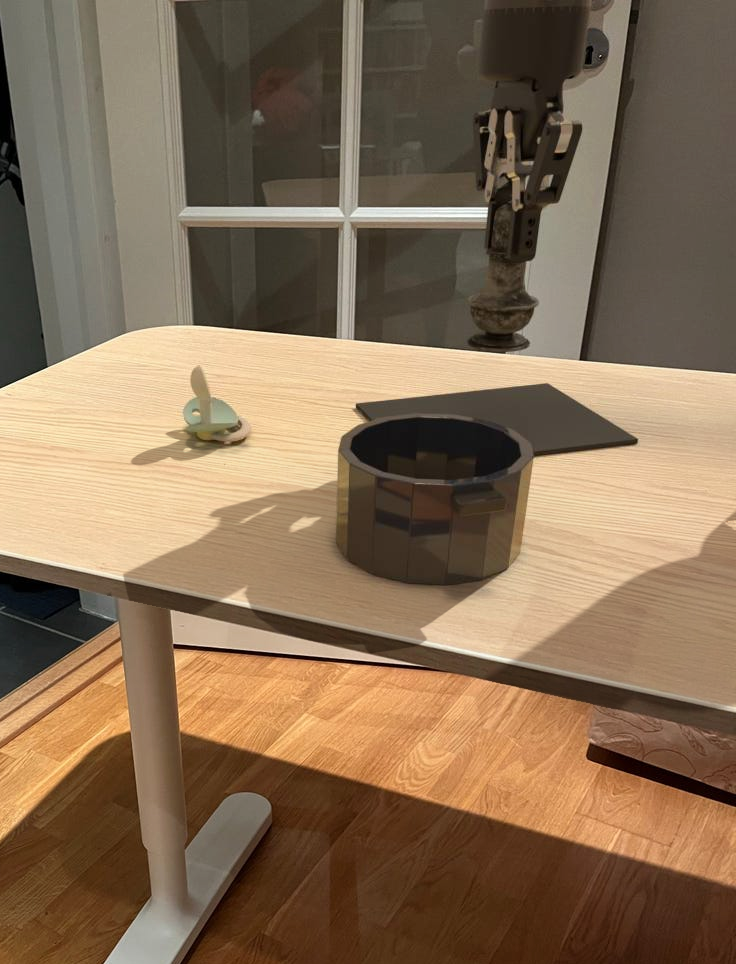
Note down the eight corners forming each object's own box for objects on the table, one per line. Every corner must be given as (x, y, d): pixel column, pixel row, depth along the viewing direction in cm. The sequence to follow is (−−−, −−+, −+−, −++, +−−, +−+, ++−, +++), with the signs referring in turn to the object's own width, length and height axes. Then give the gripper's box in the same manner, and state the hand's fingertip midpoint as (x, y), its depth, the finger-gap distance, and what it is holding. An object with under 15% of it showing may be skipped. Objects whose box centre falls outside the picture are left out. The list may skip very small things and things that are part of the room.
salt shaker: (464, 332, 84) (478, 185, 77) (532, 335, 82) (552, 185, 76) (462, 351, 79) (477, 195, 72) (534, 354, 78) (556, 196, 71)
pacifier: (245, 419, 88) (182, 421, 87) (245, 352, 84) (179, 354, 84) (256, 447, 82) (187, 450, 81) (256, 376, 78) (185, 379, 78)
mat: (547, 386, 93) (547, 382, 93) (637, 443, 80) (638, 438, 80) (355, 407, 89) (355, 403, 89) (417, 470, 76) (417, 465, 76)
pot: (464, 486, 73) (473, 399, 69) (563, 580, 60) (581, 480, 57) (310, 506, 71) (310, 417, 67) (379, 607, 58) (384, 504, 54)
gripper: (639, -3, 62) (595, 270, 72) (538, 4, 74) (511, 238, 83) (536, 0, 61) (504, 277, 70) (449, 7, 73) (432, 244, 82)
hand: (508, 254), depth 77 cm, fingers closed on salt shaker, 3 cm apart
